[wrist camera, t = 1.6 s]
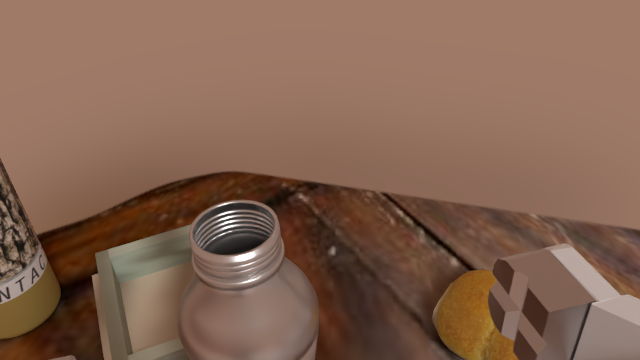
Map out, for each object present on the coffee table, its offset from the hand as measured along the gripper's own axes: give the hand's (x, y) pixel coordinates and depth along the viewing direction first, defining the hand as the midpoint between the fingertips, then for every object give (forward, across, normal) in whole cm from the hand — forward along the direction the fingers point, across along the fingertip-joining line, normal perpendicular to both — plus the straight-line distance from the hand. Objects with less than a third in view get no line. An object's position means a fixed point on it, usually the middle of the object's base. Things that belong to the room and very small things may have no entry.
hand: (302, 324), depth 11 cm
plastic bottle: (+12, -1, +26) cm, 29 cm away
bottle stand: (+26, +3, +26) cm, 37 cm away
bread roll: (+18, -18, +26) cm, 36 cm away
